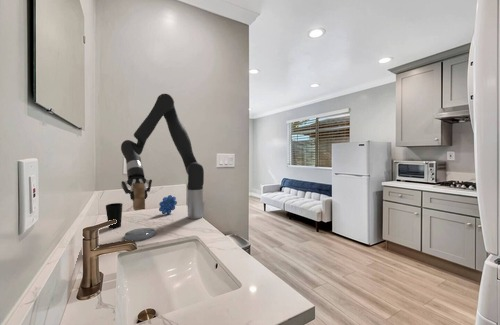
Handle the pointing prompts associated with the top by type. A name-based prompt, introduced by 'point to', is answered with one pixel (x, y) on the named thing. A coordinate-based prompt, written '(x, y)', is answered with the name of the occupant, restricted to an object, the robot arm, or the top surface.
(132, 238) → the slate dish
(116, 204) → the cup
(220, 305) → the top surface
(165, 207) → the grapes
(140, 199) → the walnut block
